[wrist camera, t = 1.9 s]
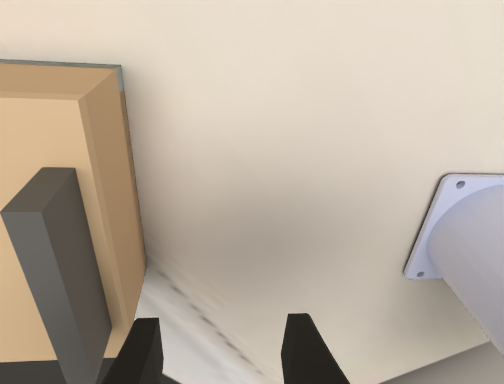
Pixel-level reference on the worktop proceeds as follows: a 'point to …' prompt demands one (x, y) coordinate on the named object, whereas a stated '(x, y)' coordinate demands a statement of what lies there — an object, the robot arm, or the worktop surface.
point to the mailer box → (98, 151)
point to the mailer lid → (55, 239)
